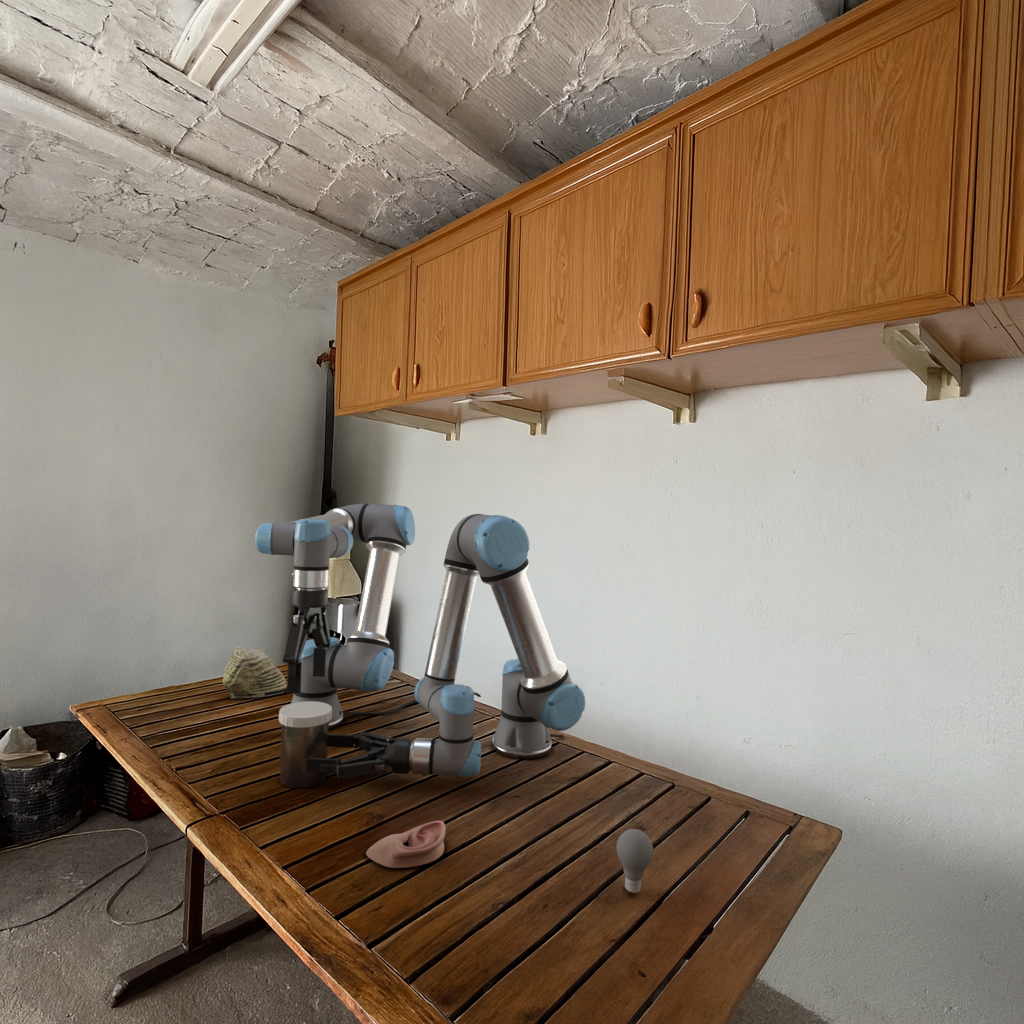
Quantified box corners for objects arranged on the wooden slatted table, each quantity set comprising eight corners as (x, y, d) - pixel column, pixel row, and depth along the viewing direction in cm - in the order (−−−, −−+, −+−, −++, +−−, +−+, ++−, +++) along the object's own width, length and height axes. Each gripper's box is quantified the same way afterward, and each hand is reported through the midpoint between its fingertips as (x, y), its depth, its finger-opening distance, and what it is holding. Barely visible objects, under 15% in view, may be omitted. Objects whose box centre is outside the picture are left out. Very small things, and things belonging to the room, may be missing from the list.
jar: (314, 764, 149) (316, 701, 149) (334, 779, 142) (337, 713, 142) (272, 776, 142) (274, 709, 142) (291, 792, 135) (294, 722, 135)
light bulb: (610, 879, 108) (613, 822, 108) (644, 879, 109) (647, 822, 109) (619, 902, 102) (622, 840, 102) (655, 901, 103) (658, 840, 103)
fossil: (218, 695, 195) (220, 647, 195) (278, 685, 208) (279, 640, 207) (228, 703, 189) (230, 653, 188) (289, 692, 201) (290, 645, 201)
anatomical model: (359, 840, 110) (385, 809, 121) (358, 862, 110) (384, 829, 121) (431, 852, 107) (451, 819, 119) (431, 875, 107) (451, 840, 119)
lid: (317, 707, 150) (317, 698, 150) (340, 720, 142) (341, 711, 142) (270, 716, 142) (270, 707, 142) (292, 731, 134) (292, 721, 134)
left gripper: (317, 580, 154) (313, 668, 154) (267, 595, 130) (263, 699, 130) (347, 582, 153) (343, 670, 154) (302, 597, 129) (298, 702, 129)
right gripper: (401, 798, 129) (297, 794, 129) (419, 750, 154) (331, 746, 154) (402, 762, 129) (298, 758, 129) (420, 719, 154) (333, 716, 154)
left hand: (306, 684), depth 142 cm, fingers open, 12 cm apart
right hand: (316, 751), depth 141 cm, fingers open, 13 cm apart
